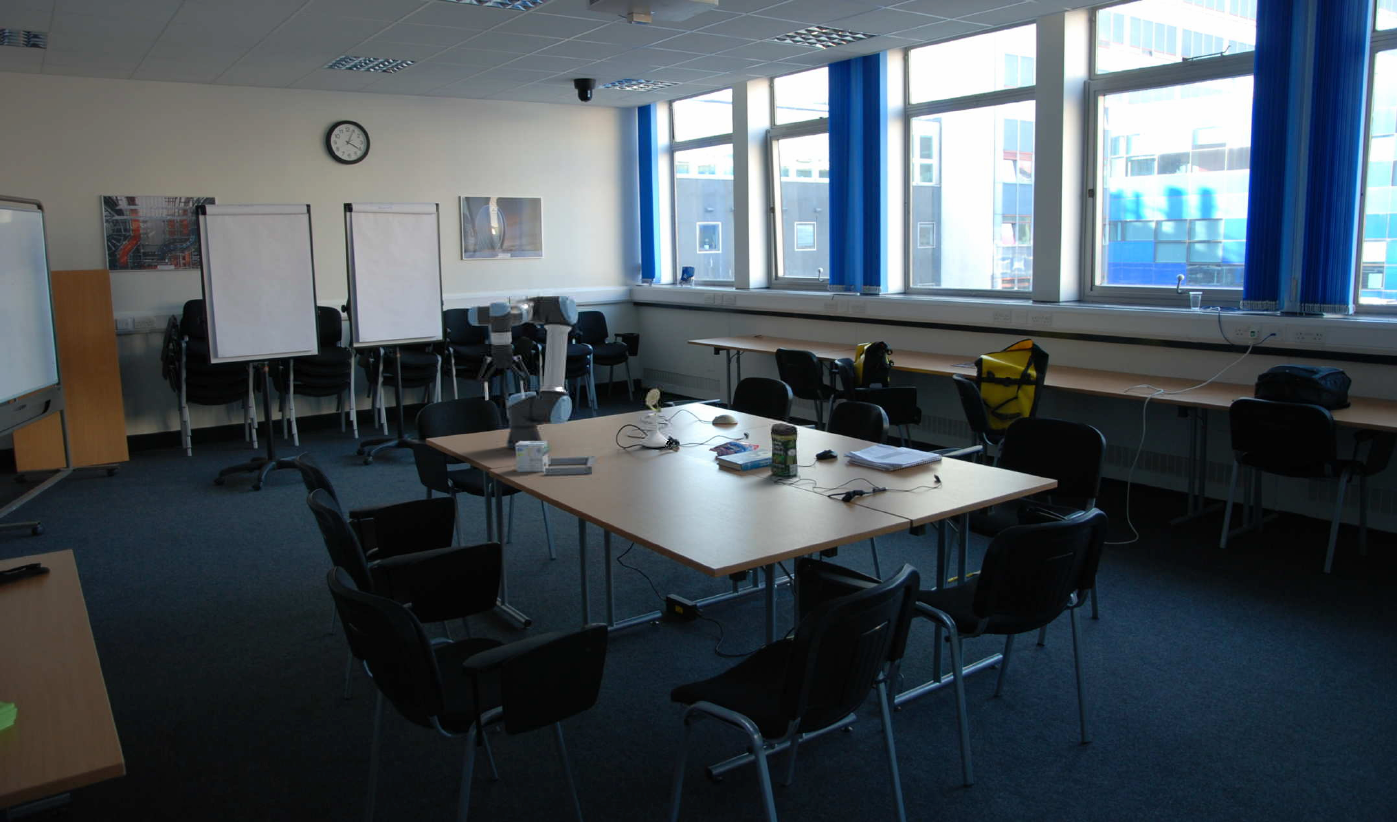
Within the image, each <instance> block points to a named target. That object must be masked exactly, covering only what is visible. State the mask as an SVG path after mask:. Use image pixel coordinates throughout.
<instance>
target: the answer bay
mask: <svg viewBox="0 0 1397 822" xmlns="http://www.w3.org/2000/svg"><path fill="white" fill-rule="evenodd" d="M549 460H550V465H551V466H548V467H546V468H545V471H544V473H545V476H561V475H565V474H566V475H592V474H593V471H594V468H593V467H594V466H595V463H596V457H595V456H594V455H592V456H591V455H589V456H587V455H586V456H563V457H562V456H560V457H559V456H557V457H550V459H549ZM557 465H559V466H557ZM562 465H564V466H562ZM565 465H575V466H565ZM576 465H578V466H576ZM579 465H580V466H579ZM581 465H582V466H581Z"/></svg>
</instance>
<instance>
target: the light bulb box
mask: <svg viewBox="0 0 1397 822" xmlns="http://www.w3.org/2000/svg"><path fill="white" fill-rule="evenodd" d="M547 443H548V442H547V441H546V440H542V441H520V442H518V443H516V444H515V447H516V450H515V464H516V472H517V473H518V472H521V473H522V472H523V473H525V472H537V473H538V472H541V473H542V472H545V468H546V467H549V463H548V462H549V459H548V458H549V457H548V444H547Z"/></svg>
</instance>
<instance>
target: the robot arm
mask: <svg viewBox="0 0 1397 822" xmlns="http://www.w3.org/2000/svg"><path fill="white" fill-rule="evenodd" d="M576 303H577V302H576V301H575V300H574V298H573V297H571V296H565V295H549V296H548V295H546V296H545V295H540V296H534V297H529V298H524V299H518V300H517V301H516V302H510V303H509V302H506V301H504V302H503V301H500V302H499V301H498V302H491V303H490V304H489V305H482V306H481V305H477V306H471V307H470V308H469V309H468V311H467V320H468V322H469V324H470V325H472V326H477V327H481V326H486V327H488V326H490V339H491V340H490V341H491V344H492V345H491V357H489V356H484V357H483V364H482V366H481V368H480V369H479V373H478V374H477V377H476V379H475V380H476V382H478V383H481V391H482V392H484V397H485V399H484V400H485V401H488V400H489V390H488V389H489V388H488V385H489V384H488V382H487V380H488V378H489V377H490V376H491V374H492V373H493V372H494V371H495V369H496V368H498V369H507V368H509V369H510V370H512V371H513V372H514V373H515V374H516V376H517V377H518V378H519V379H520V380H521V381H520V393H519V392H518V393H515V394H512V395H510V396H509V397H508V403H507V407H508V419H509V421H508V422H509V432H508V435H507V438H506V439H507V440H506V449H508V448H509V449H508V450H511V451H512V450H513V451H514V450H515V451H516V447H515V444H516V443H518V442H520V441H543V439H542V436H541V434H540V431H539V427H538V424H552V425H558V424H561V425H562V424H564V423H566V422H567V421H568V419H569V418H570V416H571V413H572V408H573V406H572V405H573V402H572V399H571V398H570V396H568V392H567V391H566V389H565V379H566V378H565V377H566V376H565V375H566V363H567V362H566V361H567V348H568V337H569V336H568V335H569V334H568V333H569V332H570V331H571V330H572V328H573V325H575V324H576V323H577V321H578V319H579V310H578V306H577V304H576ZM524 323H531V324H540V325H542V324H544V325H543V327H544V329H546V331H547V332H546V344H545V346H546V347H545V360H544V373H543V385H542V388H541V389H539V393H538V395H537V393H536V391H526V390H527V381H530V380H531V379H532V376H531V375H530V373H529V371H528V370H527V367H526V366H525V363H524V362H523V360H522V355H516V356H514V355H513V344H512V327H513V326H519V325H522V324H524ZM514 360H515V362H517V363H518V366H519V367H520V368H521V370H522V372H523V373H522V372H520V370H519V369H518V368H517V367H516V366H515V365H514V363H513V362H514ZM490 362H492V363H493V365H492V367H490V369H489V370H488V372H487V373H486V374H485V376H483V375H484V372H485V371H486V368H487V365H488V363H490ZM482 377H483V378H482ZM525 391H526V392H525Z"/></svg>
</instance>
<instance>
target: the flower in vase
mask: <svg viewBox="0 0 1397 822" xmlns="http://www.w3.org/2000/svg"><path fill="white" fill-rule="evenodd" d="M660 394H661V392H660V390H658V389H657V388H655V389H654V388H653V389H651V390H650V391H649V392H648V393H647V395H646V398H645V401H646V402H645V404H646V406H648V407H650V409H651V410H653V411H654V413H653V412H652V413H649V414H648V416H649V417H650V419H651V424H652V425H651V426H652V430H651V432H650V433H649V434H648V435H646V437H645V438H644V439H643V440H642V442H641V444H642V446H645V447H646V448H661V447H666V446H665V444H666V443H667V441H669V440H668V439H667V437H666V436H664V435H662V434H661V432H660V431H659V426H658V425H659V424H658V423H659V418H660V417H661V415H662V414H661V413H662V409H661V407H660V406H659V404H658V401H659V399H660ZM655 404H656V408H654V407H653V406H654V405H655Z"/></svg>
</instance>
